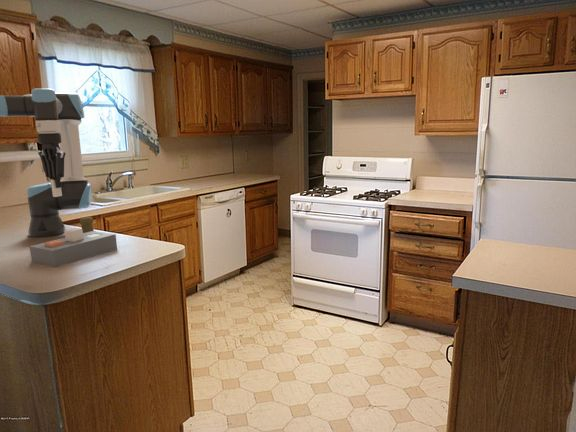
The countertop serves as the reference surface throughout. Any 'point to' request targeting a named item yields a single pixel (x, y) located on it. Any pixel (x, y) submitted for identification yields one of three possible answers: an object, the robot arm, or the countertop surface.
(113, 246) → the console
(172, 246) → the countertop surface
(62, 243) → the terracotta button
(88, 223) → the cork
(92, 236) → the cream square button
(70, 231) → the cream white cube
